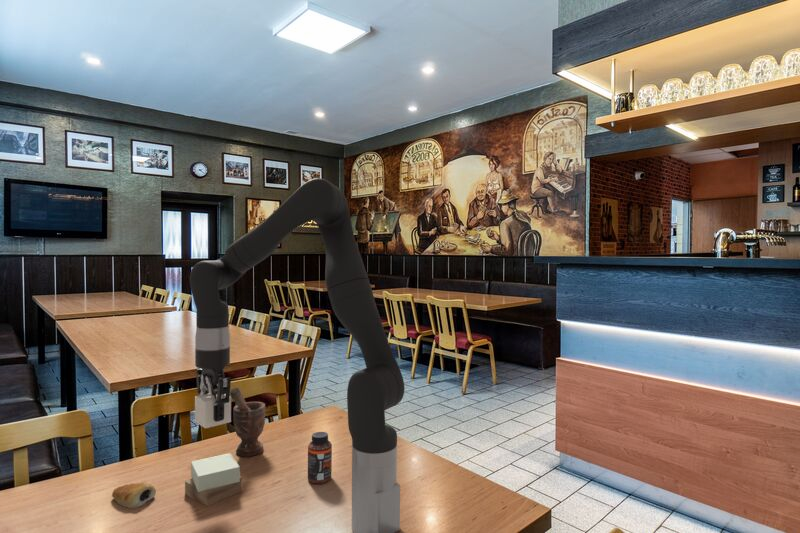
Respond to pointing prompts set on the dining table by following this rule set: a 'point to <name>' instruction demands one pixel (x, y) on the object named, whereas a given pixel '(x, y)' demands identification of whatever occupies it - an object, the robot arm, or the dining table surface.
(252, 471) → the dining table surface
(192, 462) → the upper block
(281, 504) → the dining table surface
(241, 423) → the mortar and pestle
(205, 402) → the cream block
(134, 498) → the pastry
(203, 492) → the lower block
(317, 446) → the supplement bottle
